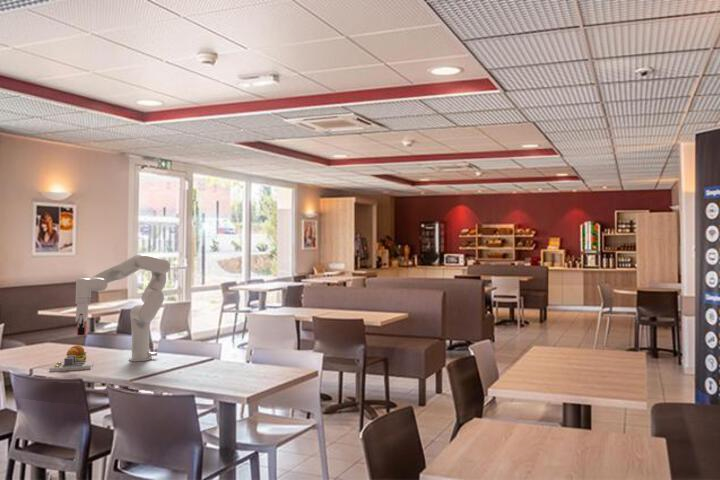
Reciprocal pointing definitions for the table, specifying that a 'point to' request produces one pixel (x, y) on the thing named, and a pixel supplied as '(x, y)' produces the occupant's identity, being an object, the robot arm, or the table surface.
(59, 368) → the panel
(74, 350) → the cheeseburger
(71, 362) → the breaker
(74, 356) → the breaker
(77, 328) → the red rectangular block
